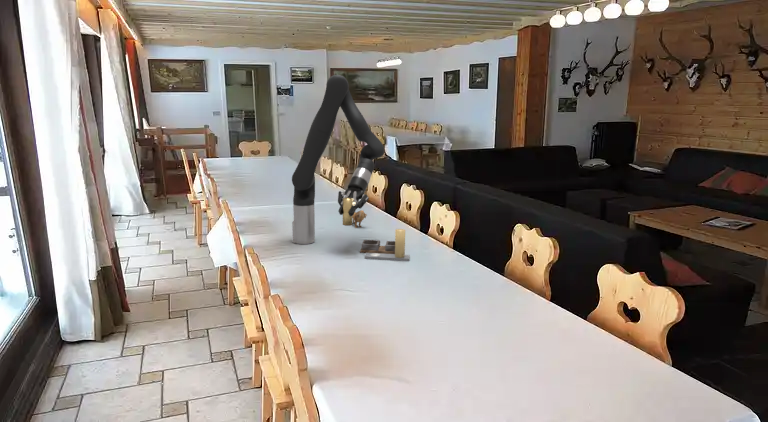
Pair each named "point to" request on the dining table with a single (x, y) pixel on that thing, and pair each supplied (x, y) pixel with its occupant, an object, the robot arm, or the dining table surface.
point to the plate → (387, 257)
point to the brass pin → (347, 211)
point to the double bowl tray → (377, 247)
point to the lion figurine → (358, 217)
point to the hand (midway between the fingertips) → (345, 214)
